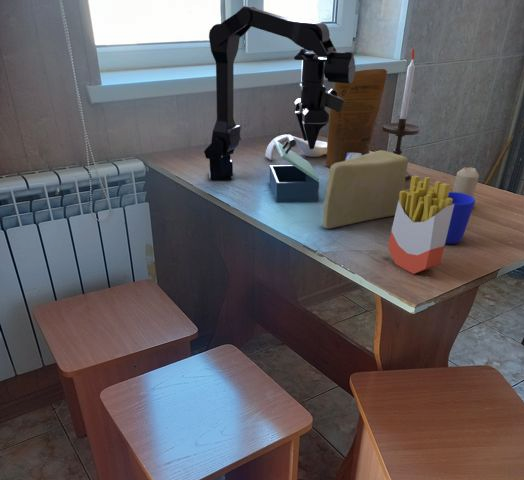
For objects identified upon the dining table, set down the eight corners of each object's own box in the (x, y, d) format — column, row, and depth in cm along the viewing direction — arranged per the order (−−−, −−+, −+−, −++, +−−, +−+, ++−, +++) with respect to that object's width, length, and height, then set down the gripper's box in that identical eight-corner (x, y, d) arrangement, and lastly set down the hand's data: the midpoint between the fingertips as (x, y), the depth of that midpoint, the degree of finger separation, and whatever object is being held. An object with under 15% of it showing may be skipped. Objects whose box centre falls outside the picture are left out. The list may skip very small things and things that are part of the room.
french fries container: (421, 279, 103) (441, 191, 93) (385, 259, 111) (399, 175, 100) (437, 274, 105) (458, 187, 95) (400, 254, 113) (416, 172, 102)
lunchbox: (276, 202, 139) (276, 183, 136) (269, 183, 152) (269, 165, 149) (317, 201, 140) (319, 182, 137) (307, 182, 153) (308, 164, 150)
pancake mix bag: (379, 165, 169) (393, 69, 153) (327, 170, 164) (335, 71, 148) (369, 160, 175) (382, 66, 158) (318, 164, 169) (326, 68, 153)
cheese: (337, 235, 121) (344, 171, 112) (310, 222, 127) (315, 160, 119) (400, 216, 132) (411, 156, 123) (372, 205, 138) (380, 147, 130)
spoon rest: (320, 149, 185) (322, 128, 181) (337, 157, 177) (339, 135, 172) (261, 155, 177) (261, 133, 173) (275, 164, 168) (276, 141, 164)
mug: (407, 233, 123) (415, 192, 117) (456, 232, 124) (466, 191, 118) (418, 247, 116) (427, 204, 110) (470, 246, 117) (481, 203, 111)
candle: (460, 210, 136) (469, 172, 130) (445, 204, 140) (453, 166, 134) (475, 207, 138) (485, 169, 132) (460, 201, 142) (469, 164, 136)
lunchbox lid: (281, 157, 132) (291, 141, 130) (273, 141, 146) (282, 126, 143) (318, 181, 137) (328, 166, 135) (307, 164, 150) (317, 150, 148)
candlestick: (389, 183, 154) (411, 49, 134) (369, 173, 162) (386, 45, 142) (418, 179, 158) (443, 48, 137) (397, 169, 166) (418, 44, 145)
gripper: (352, 86, 124) (345, 153, 133) (335, 75, 139) (330, 136, 148) (306, 86, 123) (303, 153, 132) (295, 75, 138) (292, 136, 147)
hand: (308, 144), depth 140 cm, fingers open, 9 cm apart
